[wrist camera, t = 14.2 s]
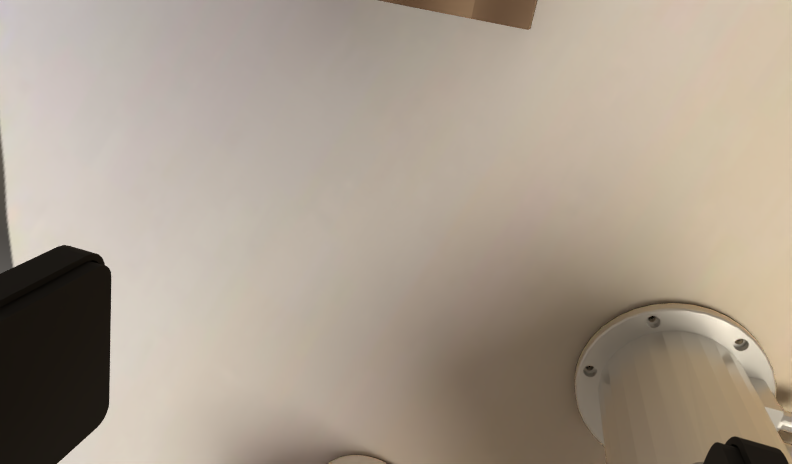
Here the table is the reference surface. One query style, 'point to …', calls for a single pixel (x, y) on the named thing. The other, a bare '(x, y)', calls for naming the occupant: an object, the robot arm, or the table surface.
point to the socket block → (481, 10)
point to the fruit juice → (356, 460)
